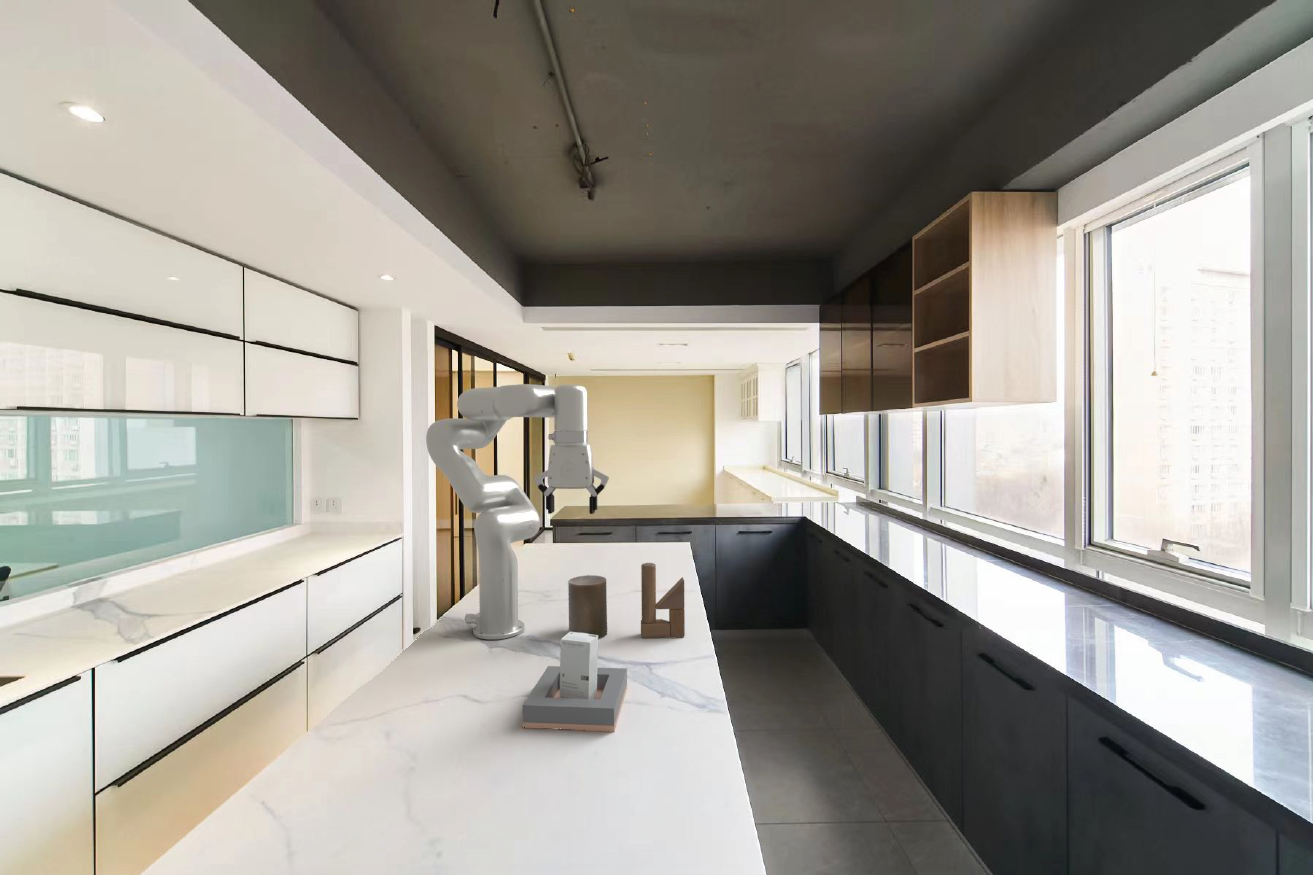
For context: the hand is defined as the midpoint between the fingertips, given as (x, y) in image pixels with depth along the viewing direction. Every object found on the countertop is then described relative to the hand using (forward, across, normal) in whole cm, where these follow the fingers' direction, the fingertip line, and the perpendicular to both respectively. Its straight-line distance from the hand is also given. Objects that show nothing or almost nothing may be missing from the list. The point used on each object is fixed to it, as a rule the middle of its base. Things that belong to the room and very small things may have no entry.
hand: (571, 513), depth 129 cm
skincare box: (+32, +7, -25) cm, 41 cm away
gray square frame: (+32, +7, -25) cm, 41 cm away
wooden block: (+32, +20, +12) cm, 40 cm away
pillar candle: (+32, +1, +12) cm, 35 cm away
